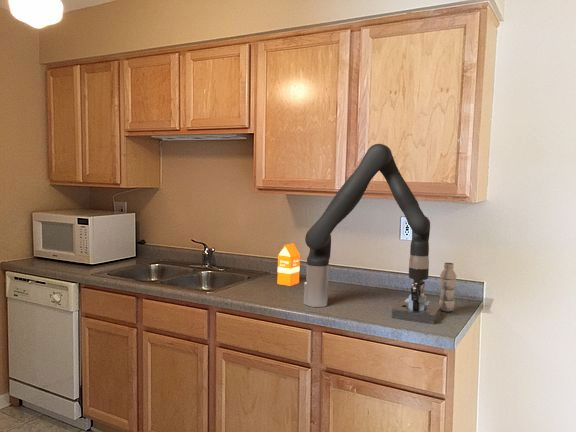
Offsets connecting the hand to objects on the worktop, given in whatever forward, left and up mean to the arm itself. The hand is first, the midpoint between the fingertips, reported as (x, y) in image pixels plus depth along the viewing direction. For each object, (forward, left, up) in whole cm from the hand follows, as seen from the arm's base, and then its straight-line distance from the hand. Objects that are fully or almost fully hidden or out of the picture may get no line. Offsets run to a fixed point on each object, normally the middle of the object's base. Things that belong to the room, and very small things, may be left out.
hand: (417, 309), depth 194 cm
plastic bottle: (+9, +15, -3) cm, 18 cm away
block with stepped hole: (0, 0, -3) cm, 3 cm away
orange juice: (-70, +25, -3) cm, 74 cm away
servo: (0, 0, -1) cm, 1 cm away
